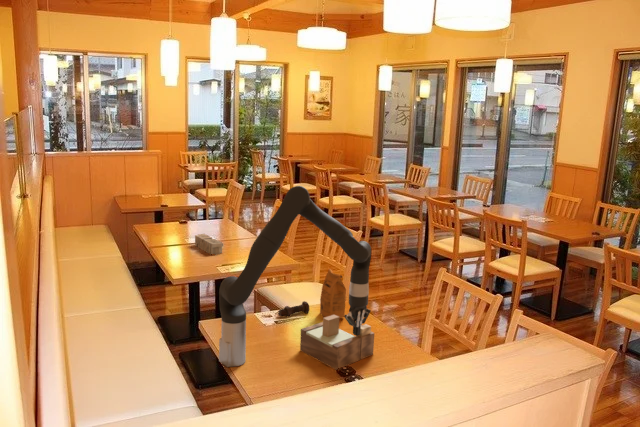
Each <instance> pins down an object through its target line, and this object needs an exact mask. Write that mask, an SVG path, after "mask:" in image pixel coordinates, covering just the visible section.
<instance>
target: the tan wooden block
mask: <svg viewBox="0 0 640 427" xmlns="http://www.w3.org/2000/svg"><path fill="white" fill-rule="evenodd" d="M371 332H372V325H369V324H367V323H364V324H362V325H361V329H360V336H365V335H367V334H370V333H371Z"/></svg>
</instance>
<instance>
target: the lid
mask: <svg viewBox="0 0 640 427" xmlns="http://www.w3.org/2000/svg"><path fill="white" fill-rule="evenodd" d="M322 322H323V326H322V327H319V328H316V329H313V330H310V331H307V332H306V334H307V335H309V336H311V337H313V338H315V339H317V340H319V341H321V342H323V343H325V344H327V345H329V346H331V347H333V345H334V344H336V343H339V342H342V341H345V340H347V339H350V338H353V337H355V336H356V335H354V334H351V333H348V332H347V331H345V330H342V329H341V328H340V318H339V316H336V315H331V316H328V317H325V318H324V317H323V318H322Z"/></svg>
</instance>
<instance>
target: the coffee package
mask: <svg viewBox="0 0 640 427" xmlns="http://www.w3.org/2000/svg"><path fill="white" fill-rule="evenodd" d="M333 272H334V271H333V270H332V269H331V268H329V269H328V270H327V272H326V275H325V278H324V280H323V283H322V286H321V291H320V292H321V294H320V299H319V300H320V306H319V307H320V308H319V314H320V315H322V316H323V318H325V317H328V316H331V315H336V316H339V319H343V318H345V317H344V316H345V315H346V298H347V297H346V295H347V289H346V286H345V285H344V282H343V280H342V278H343V275H342V274H340V273H338V274H337V273H333Z"/></svg>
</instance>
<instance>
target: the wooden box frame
mask: <svg viewBox="0 0 640 427" xmlns="http://www.w3.org/2000/svg"><path fill="white" fill-rule="evenodd" d="M322 326H323V321H322V322H318V323H315V324H313V325H309V326H305V327H303V328H300V342H299V344H300V345H299V349H300V351H301V352H303V353H305V354H306V355H308V356H310V357H311V358H314V359H315V360H316V361H319V362H321V363H323V364H324V365H327V366H329V367H330V368H332V369H333V370H339V369H341V368H340V367H342V368H344V367H346V366H349V365H351V364H353V363H356V362H358V361H361V360H362V359H365V358H367V357H370V356H372V355H374V350H375V349H374V347H375V332H373V331H371V333H370V334H367V335H365V336H360V335H358V336H356V335H354V336H355V337H353V338H350V339H347V340H345V341H342V342H339V343H336V344H334V345H333V347H331V346H329V345H327V344H325V343H323V342H321V341H319V340H317V339H315V338H313V337H311V336H309V335H307V334H306V332H307V331H310V330H313V329H316V328H319V327H322ZM338 368H339V369H338Z"/></svg>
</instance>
